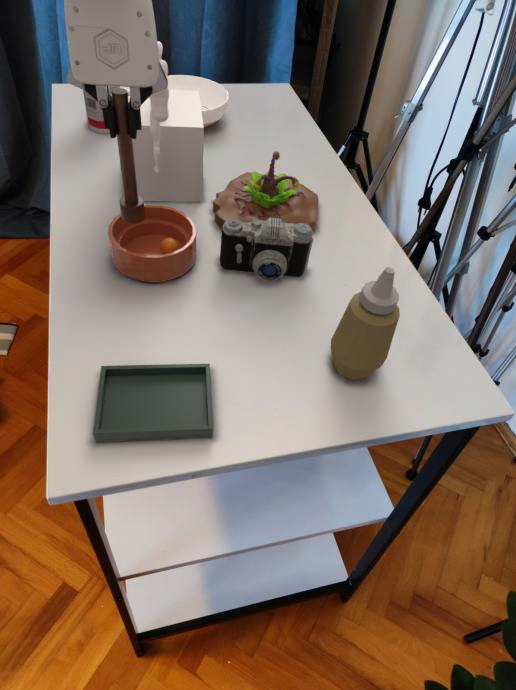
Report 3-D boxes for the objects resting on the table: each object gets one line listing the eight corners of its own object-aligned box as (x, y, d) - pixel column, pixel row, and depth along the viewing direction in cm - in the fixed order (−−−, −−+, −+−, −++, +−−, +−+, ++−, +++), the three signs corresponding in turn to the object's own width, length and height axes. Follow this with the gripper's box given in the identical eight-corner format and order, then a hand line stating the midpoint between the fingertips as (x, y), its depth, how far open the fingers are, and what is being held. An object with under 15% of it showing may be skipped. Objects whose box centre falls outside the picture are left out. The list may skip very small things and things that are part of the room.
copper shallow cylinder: (109, 284, 77) (104, 257, 73) (115, 231, 86) (112, 204, 82) (197, 284, 79) (197, 258, 75) (194, 232, 88) (195, 206, 84)
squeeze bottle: (343, 393, 68) (381, 300, 54) (315, 352, 73) (343, 256, 59) (390, 377, 71) (437, 284, 57) (360, 337, 75) (397, 243, 62)
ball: (160, 259, 82) (159, 245, 79) (160, 248, 84) (159, 234, 81) (178, 260, 82) (178, 245, 80) (178, 248, 84) (178, 234, 82)
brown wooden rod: (120, 223, 75) (103, 96, 61) (122, 210, 78) (106, 84, 63) (144, 224, 76) (133, 98, 62) (145, 210, 78) (134, 85, 64)
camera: (217, 282, 80) (219, 231, 73) (220, 255, 85) (223, 206, 77) (306, 291, 81) (318, 242, 74) (305, 264, 86) (316, 216, 78)
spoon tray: (95, 442, 59) (92, 433, 58) (103, 375, 66) (101, 365, 64) (212, 437, 62) (213, 428, 60) (209, 372, 68) (209, 363, 66)
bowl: (138, 102, 120) (136, 75, 115) (216, 99, 125) (217, 74, 120) (152, 141, 108) (150, 113, 103) (237, 137, 113) (239, 110, 109)
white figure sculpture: (197, 162, 104) (199, 28, 85) (203, 212, 93) (206, 70, 74) (126, 160, 102) (111, 22, 83) (122, 211, 90) (104, 64, 71)
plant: (327, 198, 100) (340, 146, 92) (305, 254, 87) (317, 199, 79) (235, 174, 102) (239, 121, 94) (200, 225, 90) (200, 169, 81)
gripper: (20, -30, 49) (58, 145, 63) (180, -16, 51) (183, 150, 65) (34, -49, 54) (67, 118, 68) (180, -35, 56) (183, 123, 70)
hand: (124, 132), depth 67 cm, fingers closed on brown wooden rod, 2 cm apart
